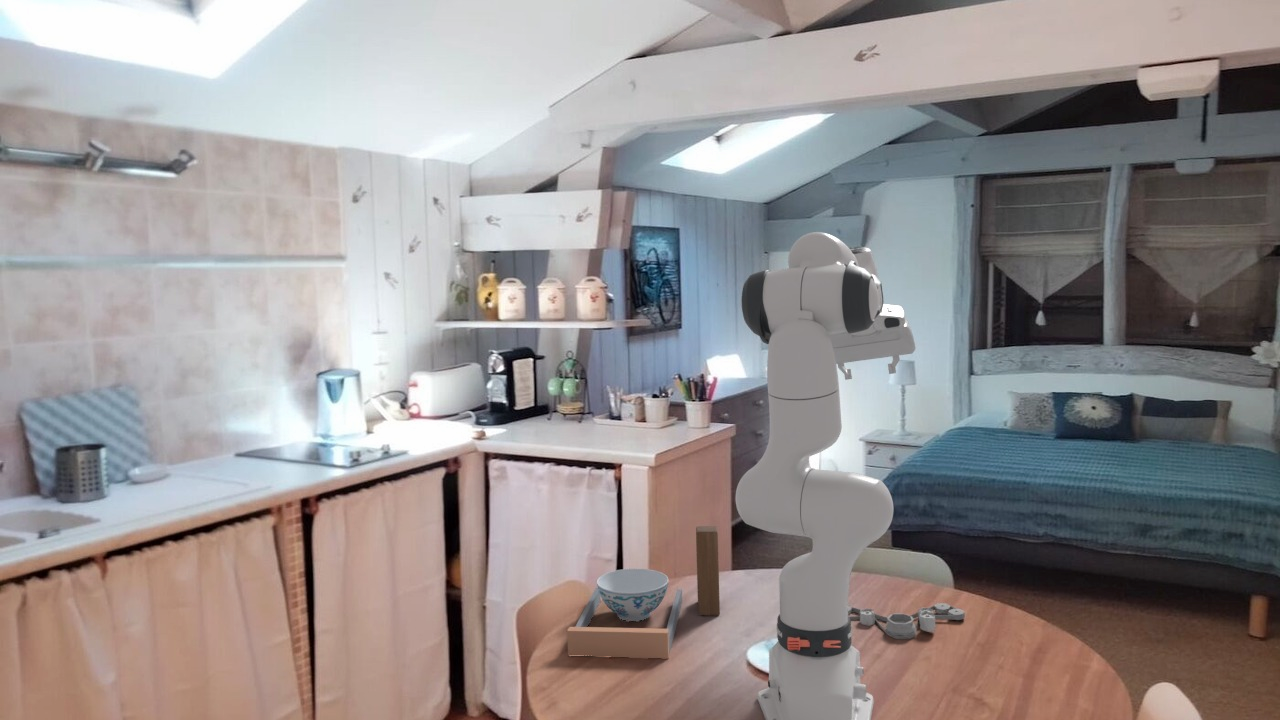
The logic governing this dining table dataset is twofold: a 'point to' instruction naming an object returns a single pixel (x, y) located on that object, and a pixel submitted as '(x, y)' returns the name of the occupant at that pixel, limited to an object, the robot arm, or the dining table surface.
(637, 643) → the wooden tray
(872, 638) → the dining table surface
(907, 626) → the pulley system
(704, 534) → the wooden block
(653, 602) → the chinaware
